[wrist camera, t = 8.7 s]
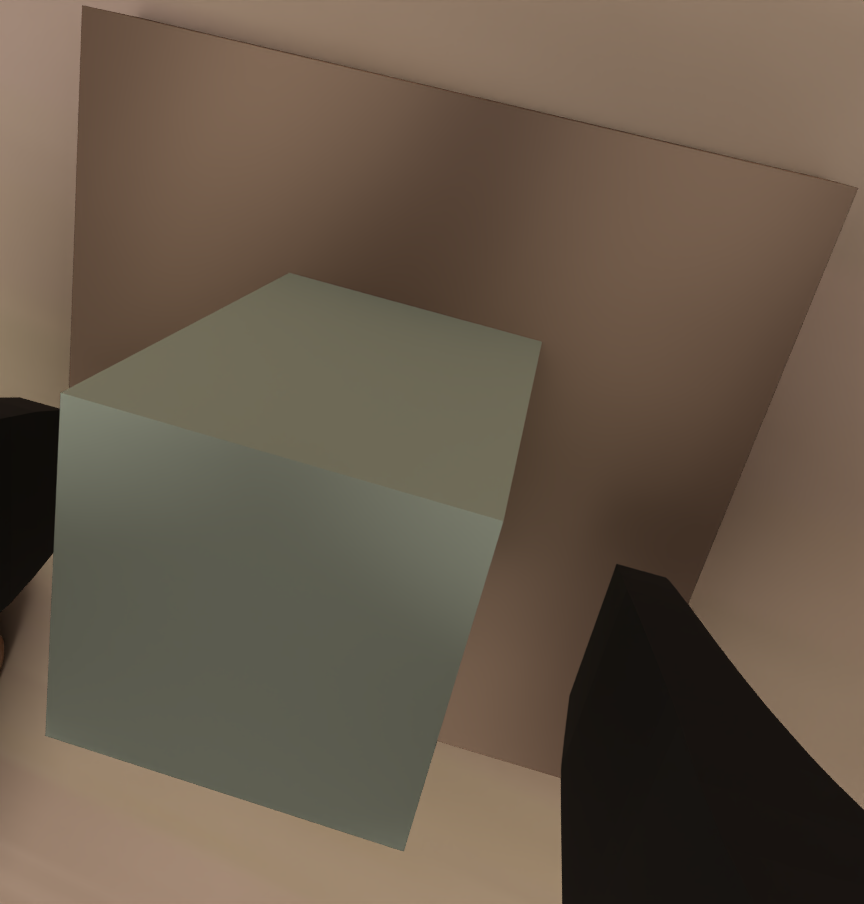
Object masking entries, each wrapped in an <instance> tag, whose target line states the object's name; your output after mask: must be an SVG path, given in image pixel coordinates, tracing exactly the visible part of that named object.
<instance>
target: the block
mask: <svg viewBox="0 0 864 904" xmlns="http://www.w3.org/2000/svg"><path fill="white" fill-rule="evenodd" d="M541 344H542V342H541V341H538V340H534V339H530V338H527V337H523V336H519V335H516V334H512V333H508V332H505V331H501V330H497V329H494V328H490V327H486V326H483V325H479V324H475V323H472V322H468V321H464V320H461V319H457V318H453V317H450V316H446V315H442V314H439V313H435V312H431V311H428V310H424V309H420V308H417V307H413V306H409V305H406V304H402V303H398V302H395V301H391V300H387V299H384V298H380V297H376V296H373V295H369V294H365V293H362V292H358V291H354V290H351V289H347V288H343V287H340V286H336V285H332V284H329V283H325V282H321V281H318V280H314V279H310V278H307V277H303V276H299V275H296V274H292V273H288V274H286V275H284V276H282V277H281V278H279V279H277V280H275V281H273V282H271V283H269V284H267V285H265V286H263V287H261V288H260V289H258V290H256V291H254V292H252V293H250V294H248V295H246V296H244V297H242V298H240V299H239V300H237V301H235V302H233V303H231V304H229V305H227V306H225V307H223V308H221V309H219V310H218V311H216V312H214V313H212V314H210V315H208V316H206V317H204V318H202V319H200V320H198V321H197V322H195V323H193V324H191V325H189V326H187V327H185V328H183V329H181V330H179V331H177V332H176V333H174V334H172V335H170V336H168V337H166V338H164V339H162V340H160V341H158V342H157V343H155V344H153V345H151V346H149V347H147V348H145V349H143V350H141V351H139V352H137V353H136V354H134V355H132V356H130V357H128V358H126V359H124V360H122V361H120V362H118V363H116V364H115V365H113V366H111V367H109V368H107V369H105V370H103V371H101V372H99V373H97V374H95V375H94V376H92V377H90V378H88V379H86V380H84V381H82V382H80V383H78V384H76V385H74V386H73V387H71V388H69V389H67V390H65V391H63V392H61V396H60V419H59V441H58V464H57V486H56V509H55V531H54V554H53V576H52V599H51V621H50V644H49V666H48V689H47V711H46V734H45V736H48V737H51V738H54V739H57V740H60V741H63V742H66V743H69V744H72V745H75V746H79V747H82V748H85V749H88V750H91V751H94V752H97V753H100V754H103V755H106V756H110V757H113V758H116V759H119V760H122V761H125V762H128V763H131V764H134V765H137V766H140V767H144V768H147V769H150V770H153V771H156V772H159V773H162V774H165V775H168V776H171V777H175V778H178V779H181V780H184V781H187V782H190V783H193V784H196V785H199V786H202V787H206V788H209V789H212V790H215V791H218V792H221V793H224V794H227V795H230V796H233V797H236V798H240V799H243V800H246V801H249V802H252V803H255V804H258V805H261V806H264V807H267V808H271V809H274V810H277V811H280V812H283V813H286V814H289V815H292V816H295V817H298V818H301V819H305V820H308V821H311V822H314V823H317V824H320V825H323V826H326V827H329V828H332V829H336V830H339V831H342V832H345V833H348V834H351V835H354V836H357V837H360V838H363V839H367V840H370V841H373V842H376V843H379V844H382V845H385V846H388V847H391V848H394V849H397V850H401V851H404V849H405V845H406V842H407V839H408V836H409V832H410V829H411V826H412V822H413V819H414V816H415V812H416V809H417V806H418V802H419V799H420V796H421V793H422V789H423V786H424V783H425V779H426V776H427V773H428V769H429V766H430V763H431V759H432V756H433V753H434V749H435V746H436V743H437V740H438V736H439V733H440V730H441V726H442V723H443V720H444V716H445V713H446V710H447V706H448V703H449V700H450V697H451V693H452V690H453V687H454V683H455V680H456V677H457V673H458V670H459V667H460V663H461V660H462V657H463V653H464V650H465V647H466V644H467V640H468V637H469V634H470V630H471V627H472V624H473V620H474V617H475V614H476V610H477V607H478V604H479V601H480V597H481V594H482V591H483V587H484V584H485V581H486V577H487V574H488V571H489V567H490V564H491V561H492V558H493V554H494V551H495V548H496V544H497V541H498V538H499V534H500V531H501V528H502V524H503V521H504V516H505V512H506V507H507V502H508V498H509V493H510V488H511V484H512V479H513V475H514V470H515V465H516V461H517V456H518V451H519V447H520V442H521V437H522V433H523V428H524V423H525V419H526V414H527V409H528V405H529V400H530V395H531V391H532V386H533V381H534V377H535V372H536V367H537V363H538V358H539V353H540V349H541Z"/></svg>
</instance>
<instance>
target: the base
mask: <svg viewBox="0 0 864 904" xmlns="http://www.w3.org/2000/svg"><path fill="white" fill-rule="evenodd" d="M857 190H858V188H856V187H852V186H849V185H845V184H841V183H838V182H834V181H830V180H826V179H822V178H818V177H814V176H809V175H805V174H801V173H797V172H792V171H788V170H784V169H780V168H775V167H771V166H767V165H763V164H758V163H754V162H750V161H746V160H741V159H737V158H733V157H729V156H724V155H720V154H716V153H712V152H707V151H703V150H699V149H695V148H690V147H686V146H682V145H678V144H673V143H669V142H665V141H661V140H656V139H652V138H648V137H644V136H640V135H635V134H631V133H627V132H623V131H618V130H614V129H610V128H606V127H601V126H597V125H593V124H589V123H584V122H580V121H576V120H572V119H567V118H563V117H559V116H555V115H550V114H546V113H542V112H538V111H533V110H529V109H525V108H521V107H516V106H512V105H508V104H504V103H499V102H495V101H491V100H487V99H482V98H478V97H474V96H470V95H465V94H461V93H457V92H453V91H448V90H444V89H440V88H436V87H431V86H427V85H423V84H419V83H414V82H410V81H406V80H402V79H397V78H393V77H389V76H385V75H380V74H376V73H372V72H368V71H363V70H359V69H355V68H351V67H346V66H342V65H338V64H334V63H329V62H325V61H321V60H317V59H312V58H308V57H304V56H300V55H295V54H291V53H287V52H283V51H279V50H274V49H270V48H266V47H262V46H257V45H253V44H249V43H245V42H240V41H236V40H232V39H228V38H223V37H219V36H215V35H211V34H206V33H202V32H198V31H194V30H189V29H185V28H181V27H177V26H172V25H168V24H164V23H160V22H155V21H151V20H147V19H143V18H138V17H134V16H129V15H125V14H120V13H115V12H111V11H106V10H102V9H97V8H92V7H88V6H83V5H82V26H81V55H80V84H79V114H78V143H77V172H76V201H75V230H74V260H73V289H72V318H71V347H70V376H69V388H71V387H73V386H74V385H76V384H78V383H80V382H82V381H84V380H86V379H88V378H90V377H92V376H94V375H95V374H97V373H99V372H101V371H103V370H105V369H107V368H109V367H111V366H113V365H115V364H116V363H118V362H120V361H122V360H124V359H126V358H128V357H130V356H132V355H134V354H136V353H137V352H139V351H141V350H143V349H145V348H147V347H149V346H151V345H153V344H155V343H157V342H158V341H160V340H162V339H164V338H166V337H168V336H170V335H172V334H174V333H176V332H177V331H179V330H181V329H183V328H185V327H187V326H189V325H191V324H193V323H195V322H197V321H198V320H200V319H202V318H204V317H206V316H208V315H210V314H212V313H214V312H216V311H218V310H219V309H221V308H223V307H225V306H227V305H229V304H231V303H233V302H235V301H237V300H239V299H240V298H242V297H244V296H246V295H248V294H250V293H252V292H254V291H256V290H258V289H260V288H261V287H263V286H265V285H267V284H269V283H271V282H273V281H275V280H277V279H279V278H281V277H282V276H284V275H286V274H288V273H292V274H296V275H299V276H303V277H307V278H310V279H314V280H318V281H321V282H325V283H329V284H332V285H336V286H340V287H343V288H347V289H351V290H354V291H358V292H362V293H365V294H369V295H373V296H376V297H380V298H384V299H387V300H391V301H395V302H398V303H402V304H406V305H409V306H413V307H417V308H420V309H424V310H428V311H431V312H435V313H439V314H442V315H446V316H450V317H453V318H457V319H461V320H464V321H468V322H472V323H475V324H479V325H483V326H486V327H490V328H494V329H497V330H501V331H505V332H508V333H512V334H516V335H519V336H523V337H527V338H530V339H534V340H538V341H541V342H542V344H541V349H540V353H539V358H538V363H537V367H536V372H535V377H534V381H533V386H532V391H531V395H530V400H529V405H528V409H527V414H526V419H525V423H524V428H523V433H522V437H521V442H520V447H519V451H518V456H517V461H516V465H515V470H514V475H513V479H512V484H511V488H510V493H509V498H508V502H507V507H506V512H505V516H504V521H503V524H502V528H501V531H500V534H499V538H498V541H497V544H496V548H495V551H494V554H493V558H492V561H491V564H490V567H489V571H488V574H487V577H486V581H485V584H484V587H483V591H482V594H481V597H480V601H479V604H478V607H477V610H476V614H475V617H474V620H473V624H472V627H471V630H470V634H469V637H468V640H467V644H466V647H465V650H464V653H463V657H462V660H461V663H460V667H459V670H458V673H457V677H456V680H455V683H454V687H453V690H452V693H451V697H450V700H449V703H448V706H447V710H446V713H445V716H444V720H443V723H442V726H441V730H440V733H439V736H438V740H437V741H439V742H442V743H446V744H449V745H452V746H456V747H459V748H462V749H466V750H469V751H472V752H476V753H479V754H482V755H486V756H489V757H492V758H496V759H499V760H502V761H506V762H509V763H512V764H516V765H519V766H522V767H526V768H529V769H532V770H536V771H539V772H542V773H546V774H549V775H552V776H556V777H559V778H561V762H562V753H563V744H564V735H565V727H566V719H567V711H568V703H569V695H570V692H571V690H572V687H573V684H574V681H575V678H576V676H577V673H578V670H579V667H580V664H581V662H582V659H583V656H584V653H585V651H586V648H587V645H588V642H589V639H590V637H591V634H592V631H593V628H594V625H595V623H596V620H597V617H598V614H599V611H600V609H601V606H602V603H603V600H604V597H605V595H606V592H607V589H608V586H609V583H610V581H611V578H612V575H613V572H614V569H615V567H616V564H620V565H623V566H627V567H630V568H634V569H637V570H641V571H645V572H648V573H652V574H655V575H659V576H663V577H666V578H667V579H668V580H669V581H670V582H671V583H672V584H673V586H674V587H675V588H676V589H677V591H678V592H679V593H680V594H681V596H682V597H683V598H684V600H685V601H686V602H687V604H688V603H689V600H690V598H691V595H692V593H693V591H694V588H695V586H696V583H697V581H698V578H699V576H700V573H701V571H702V569H703V566H704V564H705V561H706V559H707V556H708V554H709V551H710V549H711V547H712V544H713V542H714V539H715V537H716V534H717V532H718V529H719V527H720V525H721V522H722V520H723V517H724V515H725V512H726V510H727V507H728V505H729V503H730V500H731V498H732V495H733V493H734V490H735V488H736V485H737V483H738V481H739V478H740V476H741V473H742V471H743V468H744V466H745V463H746V461H747V459H748V456H749V454H750V451H751V449H752V446H753V444H754V441H755V439H756V437H757V434H758V432H759V429H760V427H761V424H762V422H763V419H764V417H765V415H766V412H767V410H768V407H769V405H770V402H771V400H772V398H773V395H774V393H775V390H776V388H777V385H778V383H779V380H780V378H781V376H782V373H783V371H784V368H785V366H786V363H787V361H788V358H789V356H790V354H791V351H792V349H793V346H794V344H795V341H796V339H797V336H798V334H799V332H800V329H801V327H802V324H803V322H804V319H805V317H806V314H807V312H808V310H809V307H810V305H811V302H812V300H813V297H814V295H815V292H816V290H817V288H818V285H819V283H820V280H821V278H822V275H823V273H824V270H825V268H826V266H827V263H828V261H829V258H830V256H831V253H832V251H833V248H834V246H835V244H836V241H837V239H838V236H839V234H840V231H841V229H842V226H843V224H844V222H845V219H846V217H847V214H848V212H849V209H850V207H851V204H852V202H853V200H854V197H855V195H856V192H857Z"/></svg>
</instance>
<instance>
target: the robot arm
mask: <svg viewBox="0 0 864 904" xmlns="http://www.w3.org/2000/svg"><path fill="white" fill-rule="evenodd" d="M59 419H60V409H59V408H55V407H52V406H48V405H44V404H41V403H37V402H34V401H30V400H26V399H23V398H19V397H18V398H0V612H1V611H2V610H4V609H5V608H6V607H7V606H8V605H9V604H10V603H11V602H12V601H13V600H14V599H15V597H16V596H17V595H18V594H19V593H20V592H21V591H22V590H23V588H24V587H25V586H26V585H27V584H28V583H29V582H30V581H31V579H32V578H33V577H34V576H35V575H36V573H37V572H38V571H39V570H40V569H41V567H42V566H43V565H44V564H45V562H46V561H47V560H48V559H49V557H50V556H51V555H52V554H53V553H54V531H55V509H56V486H57V464H58V441H59ZM561 845H562V904H864V810H863V809H862V808H861V807H860V806H859V805H858V804H857V803H856V802H855V801H854V800H853V799H852V798H851V797H850V796H849V795H848V794H847V793H846V792H845V791H844V790H843V789H842V788H841V787H840V786H839V785H838V784H837V783H836V782H835V781H834V780H833V779H832V778H831V777H830V776H829V775H828V774H827V773H826V772H825V771H824V770H823V769H822V768H821V767H820V766H819V765H818V764H817V763H816V761H815V760H814V759H813V758H812V757H811V756H810V755H809V754H808V753H807V752H806V751H805V749H804V748H803V747H802V746H801V745H800V744H799V743H798V742H797V740H796V739H795V738H794V737H793V736H792V735H791V734H790V732H789V731H788V730H787V729H786V728H785V727H784V726H783V725H782V723H781V722H780V721H779V720H778V719H777V718H776V717H775V715H774V714H773V713H772V712H771V711H770V710H769V708H768V707H767V706H766V705H765V704H764V702H763V701H762V700H761V699H760V698H759V696H758V695H757V694H756V693H755V691H754V690H753V689H752V688H751V687H750V685H749V684H748V683H747V682H746V680H745V679H744V678H743V677H742V675H741V674H740V673H739V671H738V670H737V669H736V668H735V666H734V665H733V664H732V662H731V661H730V660H729V659H728V657H727V656H726V655H725V653H724V652H723V651H722V649H721V648H720V647H719V645H718V644H717V643H716V641H715V640H714V639H713V637H712V636H711V635H710V633H709V632H708V631H707V629H706V628H705V627H704V625H703V624H702V623H701V621H700V620H699V619H698V617H697V616H696V615H695V613H694V612H693V610H692V609H691V608H690V606H689V605H688V604H687V602H686V601H685V600H684V598H683V597H682V596H681V594H680V593H679V592H678V591H677V589H676V588H675V587H674V586H673V584H672V583H671V582H670V581H669V580H668V579H667V578H666V577H663V576H659V575H655V574H652V573H648V572H645V571H641V570H637V569H634V568H630V567H627V566H623V565H620V564H616V567H615V569H614V572H613V575H612V578H611V581H610V583H609V586H608V589H607V592H606V595H605V597H604V600H603V603H602V606H601V609H600V611H599V614H598V617H597V620H596V623H595V625H594V628H593V631H592V634H591V637H590V639H589V642H588V645H587V648H586V651H585V653H584V656H583V659H582V662H581V664H580V667H579V670H578V673H577V676H576V678H575V681H574V684H573V687H572V690H571V692H570V695H569V703H568V711H567V719H566V727H565V735H564V744H563V753H562V762H561Z"/></svg>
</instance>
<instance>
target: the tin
mask: <svg viewBox="0 0 864 904" xmlns="http://www.w3.org/2000/svg"><path fill="white" fill-rule="evenodd" d="M3 658H4V641H3V639H2V637H1V635H0V670H1V667H2V663H3Z"/></svg>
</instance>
